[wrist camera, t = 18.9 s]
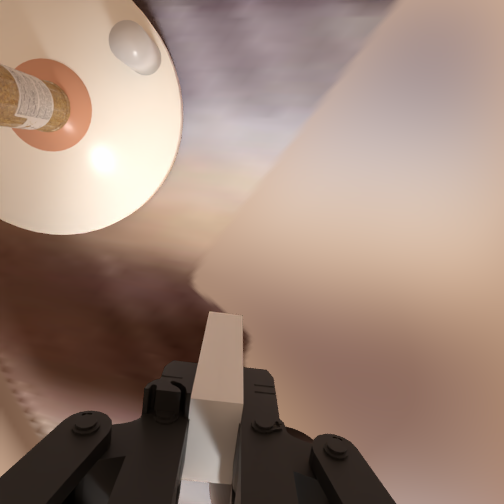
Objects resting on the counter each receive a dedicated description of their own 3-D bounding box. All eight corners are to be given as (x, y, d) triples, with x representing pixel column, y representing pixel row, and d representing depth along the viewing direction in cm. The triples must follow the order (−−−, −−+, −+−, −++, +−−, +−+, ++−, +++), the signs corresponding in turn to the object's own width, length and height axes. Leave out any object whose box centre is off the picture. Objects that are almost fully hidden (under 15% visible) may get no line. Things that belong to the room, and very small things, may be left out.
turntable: (224, 171, 40) (219, 175, 33) (22, 266, 42) (-24, 289, 35) (105, -84, 34) (68, -146, 27) (-121, 41, 36) (-211, 13, 29)
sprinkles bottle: (20, 126, 36) (-108, 112, 23) (24, 74, 35) (-109, 28, 22) (70, 137, 36) (-28, 129, 23) (75, 86, 35) (-25, 47, 22)
